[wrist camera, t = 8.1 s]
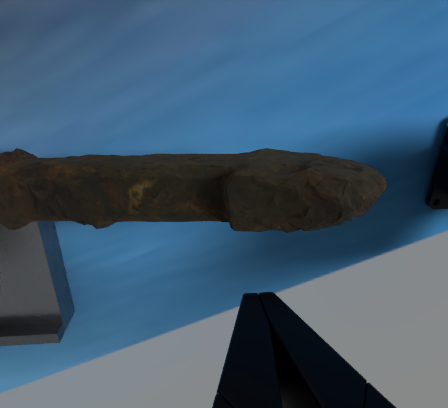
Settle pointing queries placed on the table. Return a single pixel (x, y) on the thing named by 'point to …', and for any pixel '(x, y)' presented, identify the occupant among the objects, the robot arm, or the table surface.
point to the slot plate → (33, 286)
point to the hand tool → (188, 189)
